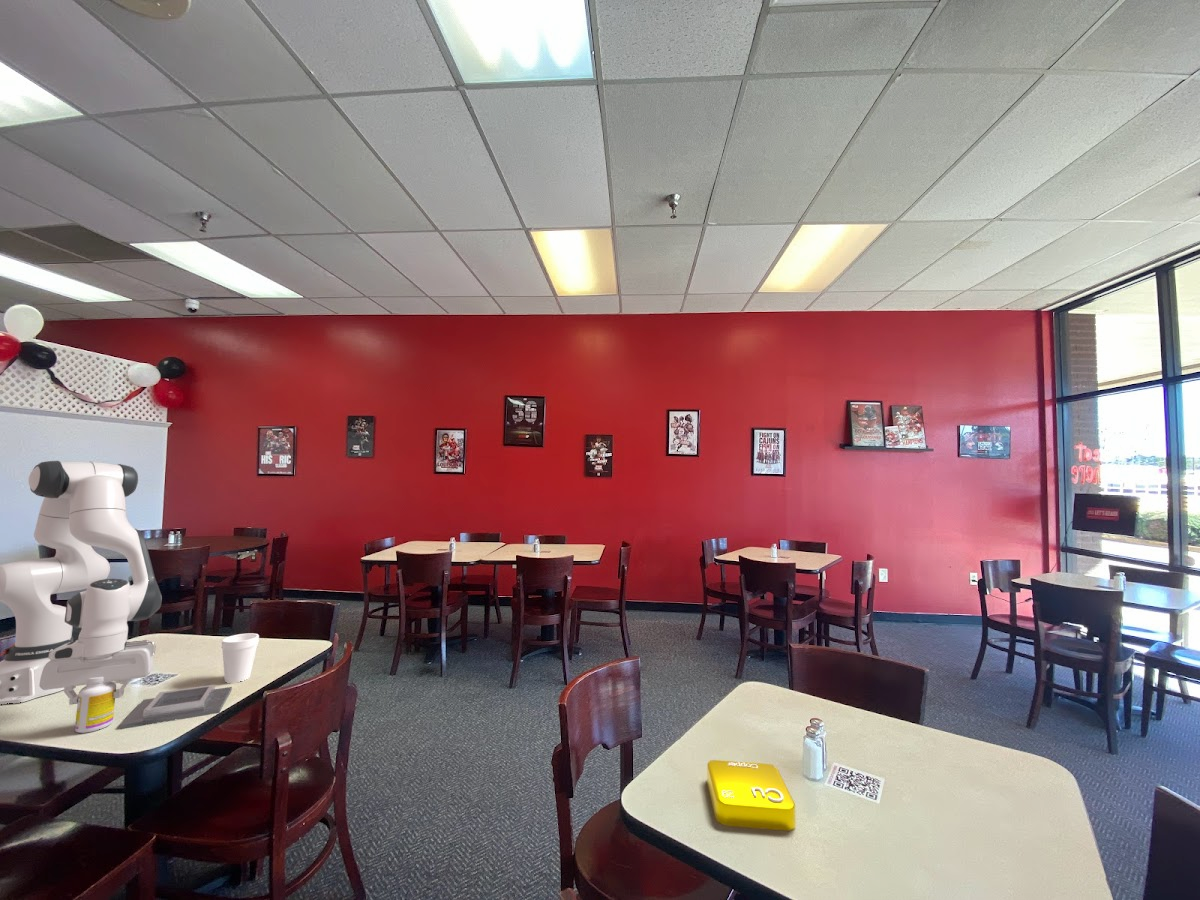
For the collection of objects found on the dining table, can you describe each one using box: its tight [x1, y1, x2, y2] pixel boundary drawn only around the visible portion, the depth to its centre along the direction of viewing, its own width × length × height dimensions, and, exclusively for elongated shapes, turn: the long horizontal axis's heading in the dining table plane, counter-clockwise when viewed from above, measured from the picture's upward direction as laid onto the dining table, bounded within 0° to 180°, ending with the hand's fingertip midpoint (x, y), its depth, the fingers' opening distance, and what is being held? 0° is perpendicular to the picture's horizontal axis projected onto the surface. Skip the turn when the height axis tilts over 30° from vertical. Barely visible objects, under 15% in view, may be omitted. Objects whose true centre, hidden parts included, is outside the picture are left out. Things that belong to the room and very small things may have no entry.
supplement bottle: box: [74, 677, 117, 734], centre depth 120 cm, size 7×7×13 cm
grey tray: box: [119, 684, 233, 730], centre depth 130 cm, size 20×16×3 cm
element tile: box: [706, 759, 796, 832], centre depth 95 cm, size 15×15×5 cm
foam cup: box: [221, 632, 260, 684], centre depth 150 cm, size 10×9×13 cm
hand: (96, 700), depth 120 cm, fingers closed on supplement bottle, 7 cm apart
